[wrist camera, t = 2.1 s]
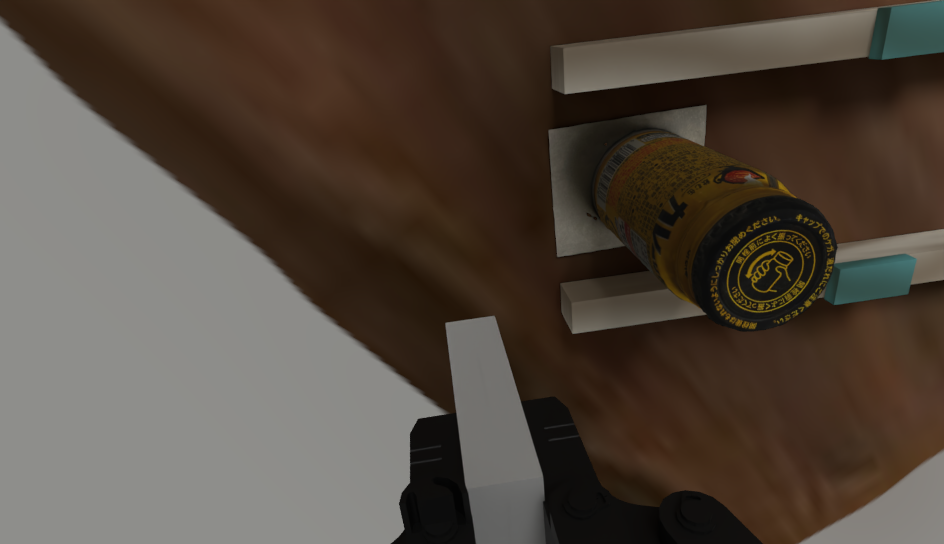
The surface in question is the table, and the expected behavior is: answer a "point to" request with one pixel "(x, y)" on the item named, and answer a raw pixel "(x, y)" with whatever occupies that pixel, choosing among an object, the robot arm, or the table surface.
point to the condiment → (690, 217)
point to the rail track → (741, 50)
